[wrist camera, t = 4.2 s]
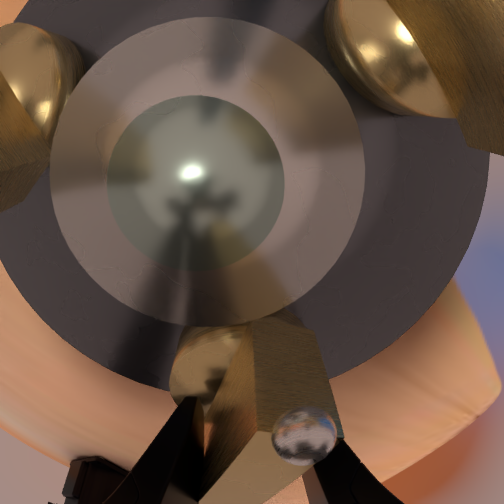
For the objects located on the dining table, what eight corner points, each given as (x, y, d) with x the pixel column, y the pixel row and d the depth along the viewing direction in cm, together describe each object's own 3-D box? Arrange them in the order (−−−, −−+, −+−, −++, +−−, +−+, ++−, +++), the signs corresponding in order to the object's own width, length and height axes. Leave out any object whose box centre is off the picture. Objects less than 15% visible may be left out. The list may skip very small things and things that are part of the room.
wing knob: (274, 410, 12) (285, 530, 7) (166, 387, 12) (141, 514, 6) (350, 289, 10) (428, 441, 4) (206, 246, 9) (162, 423, 3)
